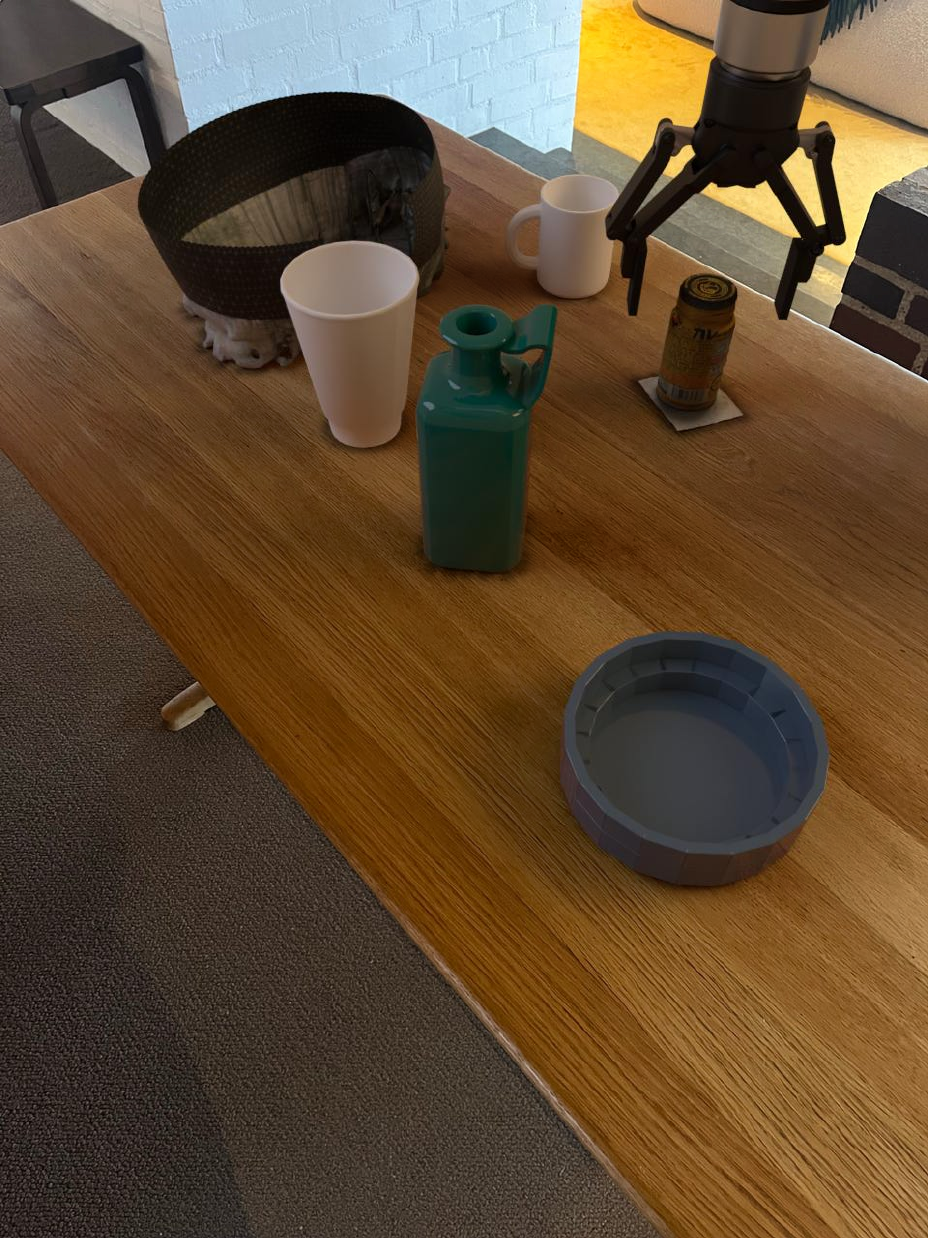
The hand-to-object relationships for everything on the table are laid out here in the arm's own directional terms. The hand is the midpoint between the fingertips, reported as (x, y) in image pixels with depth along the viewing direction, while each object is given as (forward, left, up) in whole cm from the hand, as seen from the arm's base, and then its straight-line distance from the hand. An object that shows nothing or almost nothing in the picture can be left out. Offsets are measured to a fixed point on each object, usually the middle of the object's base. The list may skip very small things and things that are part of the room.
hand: (705, 309), depth 88 cm
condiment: (0, 0, -10) cm, 10 cm away
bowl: (+5, +43, -10) cm, 44 cm away
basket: (+39, -17, -10) cm, 44 cm away
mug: (+13, -21, -10) cm, 27 cm away
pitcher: (+20, +20, -10) cm, 30 cm away
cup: (+32, +5, -10) cm, 34 cm away
